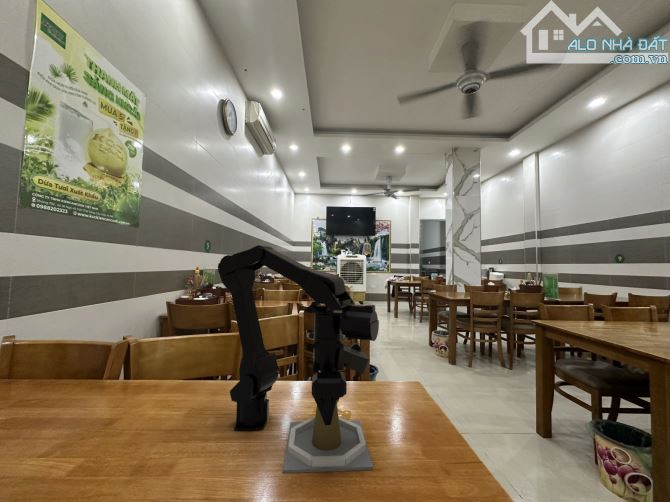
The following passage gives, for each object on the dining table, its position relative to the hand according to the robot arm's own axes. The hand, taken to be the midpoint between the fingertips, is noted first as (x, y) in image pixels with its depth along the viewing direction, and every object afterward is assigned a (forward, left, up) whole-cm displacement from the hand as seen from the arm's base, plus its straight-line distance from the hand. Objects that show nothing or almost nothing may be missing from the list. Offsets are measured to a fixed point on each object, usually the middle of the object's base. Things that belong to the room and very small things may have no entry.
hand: (326, 412), depth 60 cm
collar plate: (0, 0, -6) cm, 6 cm away
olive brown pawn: (0, 0, -6) cm, 6 cm away
